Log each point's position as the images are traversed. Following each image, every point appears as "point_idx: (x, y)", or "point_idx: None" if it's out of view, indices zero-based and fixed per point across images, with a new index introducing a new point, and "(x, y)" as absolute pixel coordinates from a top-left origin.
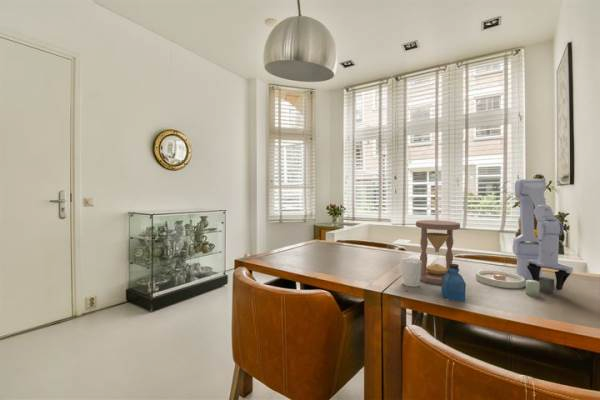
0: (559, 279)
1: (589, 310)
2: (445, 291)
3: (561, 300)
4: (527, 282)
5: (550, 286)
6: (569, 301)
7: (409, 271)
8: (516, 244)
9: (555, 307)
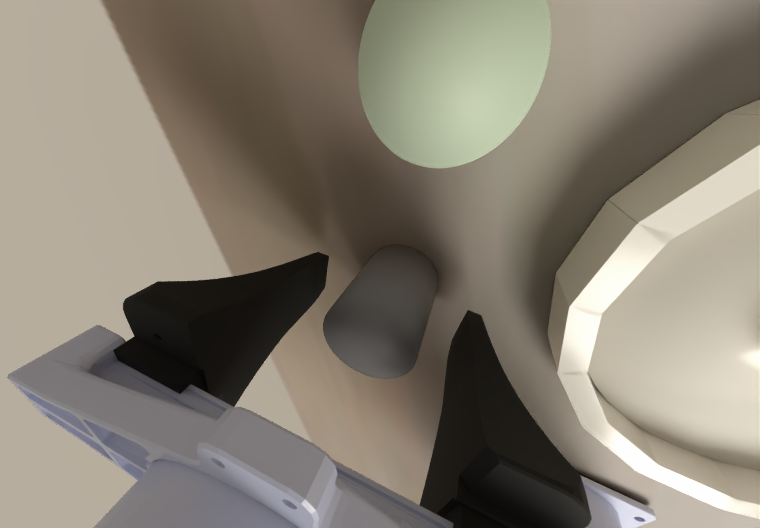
0: (238, 279)
1: (139, 46)
2: None
3: (284, 127)
4: None
5: (359, 276)
6: (258, 151)
7: None
8: None
9: None
